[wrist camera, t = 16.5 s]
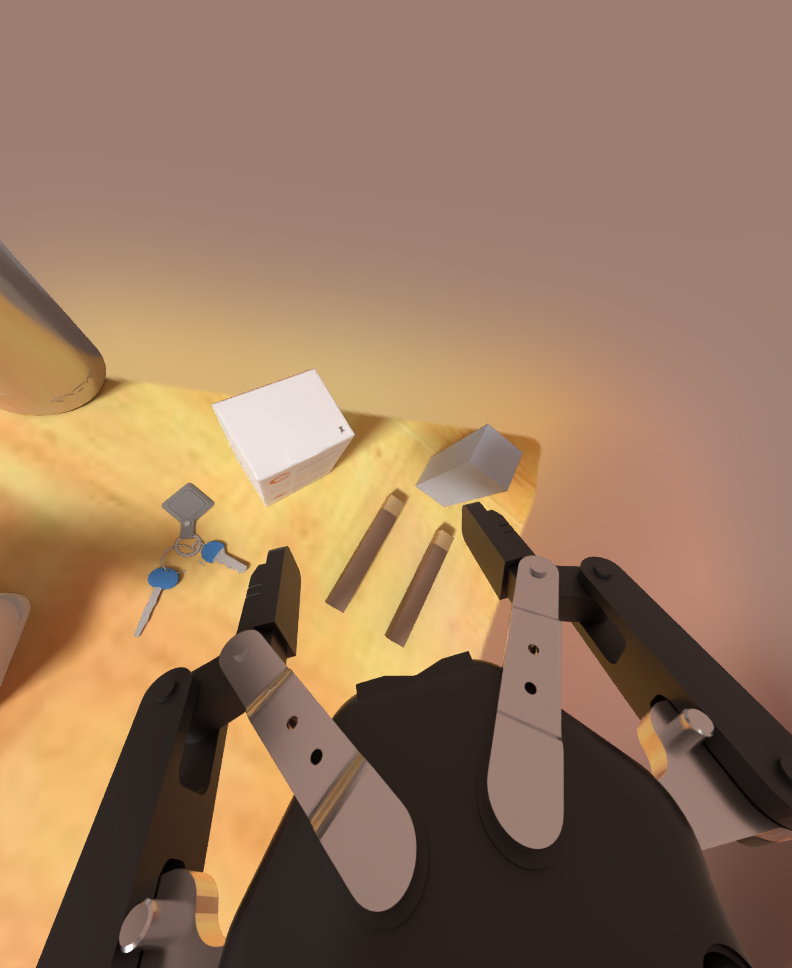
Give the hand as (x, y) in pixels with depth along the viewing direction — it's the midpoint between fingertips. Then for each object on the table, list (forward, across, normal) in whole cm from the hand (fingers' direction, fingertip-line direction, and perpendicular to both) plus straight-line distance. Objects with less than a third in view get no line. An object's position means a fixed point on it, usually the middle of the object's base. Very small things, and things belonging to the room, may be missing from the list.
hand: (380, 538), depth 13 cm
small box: (+21, +8, +6) cm, 24 cm away
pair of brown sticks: (+14, -1, +18) cm, 23 cm away
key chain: (+14, +17, +10) cm, 25 cm away
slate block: (+22, -10, +13) cm, 28 cm away
